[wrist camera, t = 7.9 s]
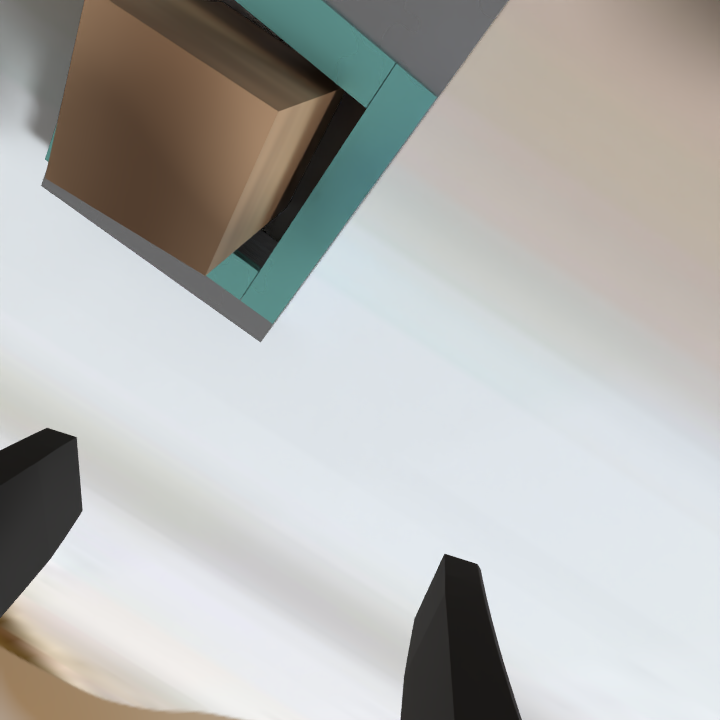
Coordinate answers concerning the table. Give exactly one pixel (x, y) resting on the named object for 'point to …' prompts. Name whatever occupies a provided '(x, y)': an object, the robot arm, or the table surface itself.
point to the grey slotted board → (357, 155)
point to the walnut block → (186, 123)
